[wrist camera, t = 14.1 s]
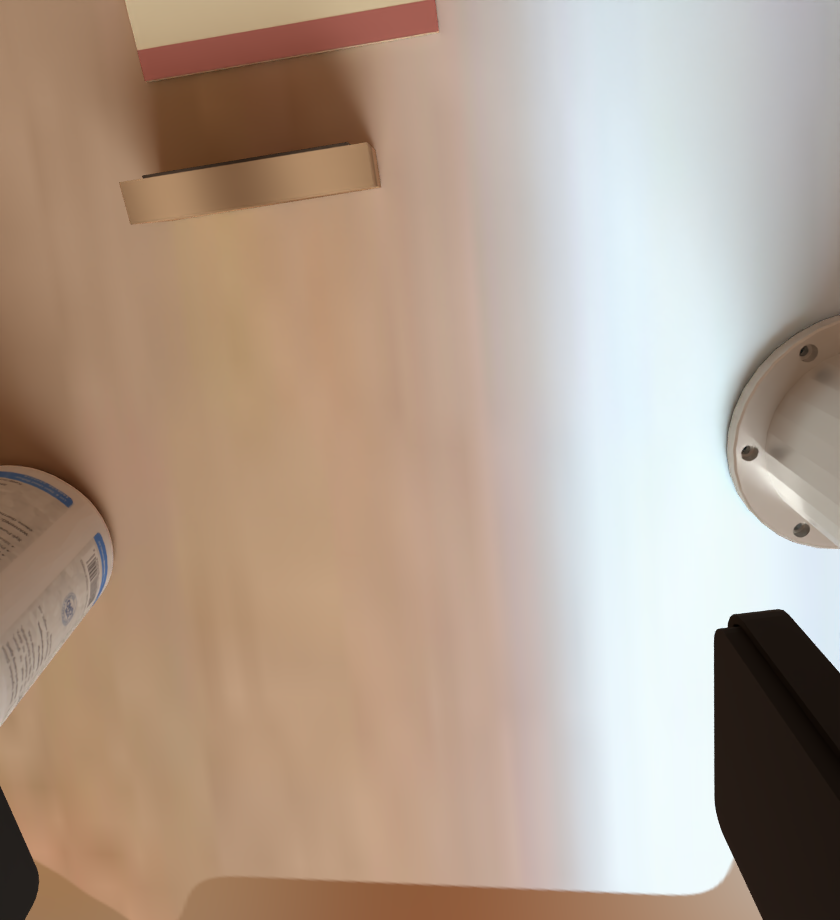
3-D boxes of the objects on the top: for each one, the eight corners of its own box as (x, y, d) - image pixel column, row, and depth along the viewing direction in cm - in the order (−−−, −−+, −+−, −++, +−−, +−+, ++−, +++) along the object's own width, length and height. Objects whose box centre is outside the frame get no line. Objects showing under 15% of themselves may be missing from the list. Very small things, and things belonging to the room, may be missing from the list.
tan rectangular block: (374, 146, 32) (366, 138, 28) (380, 187, 33) (373, 185, 28) (161, 181, 33) (118, 178, 28) (171, 220, 34) (130, 224, 29)
